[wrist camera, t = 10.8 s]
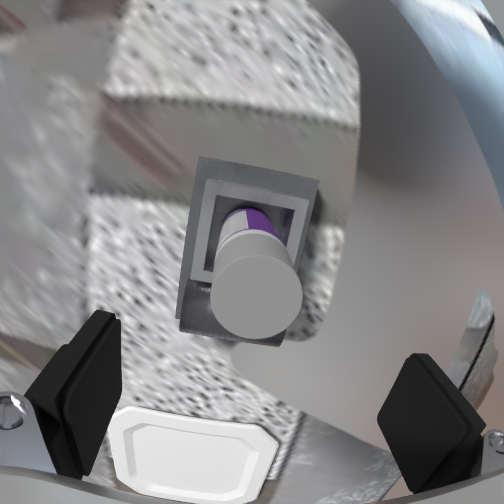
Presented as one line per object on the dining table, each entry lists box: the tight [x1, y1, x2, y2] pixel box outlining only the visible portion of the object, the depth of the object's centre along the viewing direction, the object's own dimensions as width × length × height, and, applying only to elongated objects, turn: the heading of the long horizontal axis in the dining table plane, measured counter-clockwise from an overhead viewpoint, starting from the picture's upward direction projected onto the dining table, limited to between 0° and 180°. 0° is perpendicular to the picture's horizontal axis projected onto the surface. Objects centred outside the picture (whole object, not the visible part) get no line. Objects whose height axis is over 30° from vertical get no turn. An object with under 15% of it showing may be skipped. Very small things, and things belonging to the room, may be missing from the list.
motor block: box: [175, 157, 319, 347], centre depth 29 cm, size 16×11×8 cm
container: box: [210, 206, 303, 339], centre depth 23 cm, size 5×5×15 cm
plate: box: [108, 406, 279, 504], centre depth 42 cm, size 25×25×2 cm
